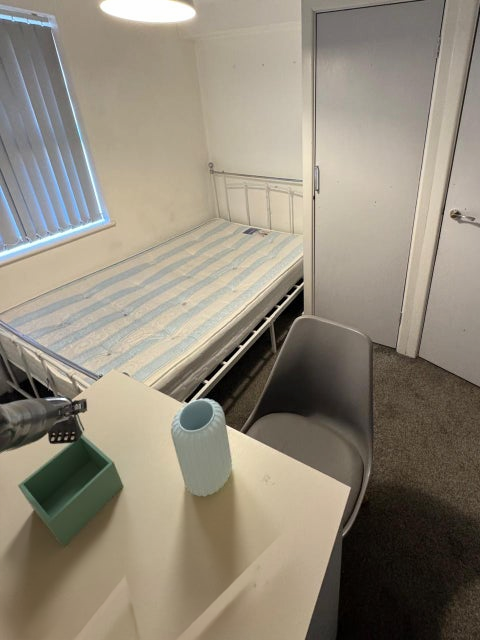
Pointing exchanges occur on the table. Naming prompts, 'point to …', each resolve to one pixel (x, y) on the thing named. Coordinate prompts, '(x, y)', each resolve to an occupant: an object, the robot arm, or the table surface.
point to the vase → (202, 446)
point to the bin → (72, 488)
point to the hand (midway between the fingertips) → (58, 413)
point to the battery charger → (65, 425)
